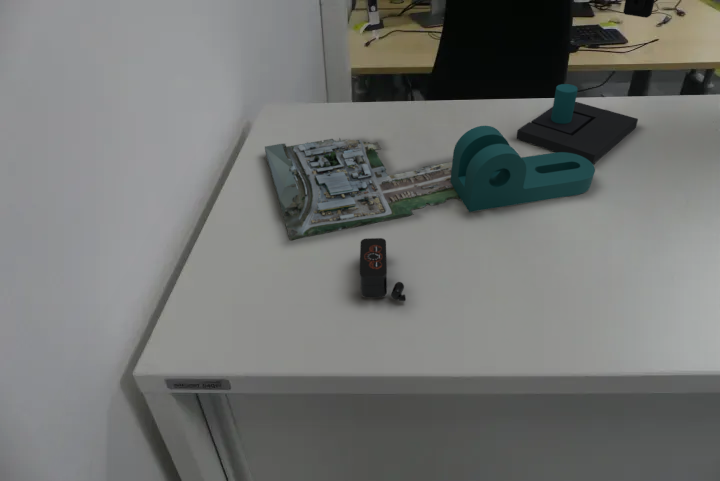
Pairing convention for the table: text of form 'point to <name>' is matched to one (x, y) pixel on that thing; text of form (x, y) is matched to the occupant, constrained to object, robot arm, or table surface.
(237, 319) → the table surface
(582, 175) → the bracket
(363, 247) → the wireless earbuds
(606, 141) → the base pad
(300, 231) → the model
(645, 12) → the robot arm
